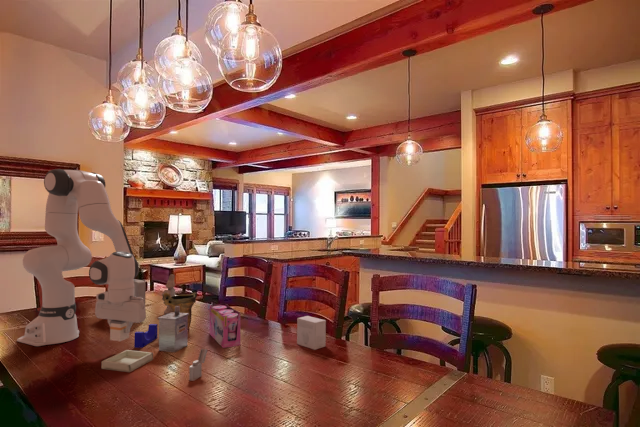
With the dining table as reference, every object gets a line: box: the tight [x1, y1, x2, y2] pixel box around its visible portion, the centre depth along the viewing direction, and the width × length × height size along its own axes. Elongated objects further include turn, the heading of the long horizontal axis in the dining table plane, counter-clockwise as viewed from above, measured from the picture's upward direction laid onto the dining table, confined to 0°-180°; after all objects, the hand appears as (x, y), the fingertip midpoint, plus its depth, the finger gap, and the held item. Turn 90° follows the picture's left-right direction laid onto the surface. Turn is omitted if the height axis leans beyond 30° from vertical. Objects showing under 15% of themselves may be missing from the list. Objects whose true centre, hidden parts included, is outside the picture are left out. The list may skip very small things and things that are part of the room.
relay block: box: [109, 320, 130, 342], centre depth 140 cm, size 5×5×7 cm
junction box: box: [157, 306, 189, 353], centre depth 145 cm, size 8×9×16 cm
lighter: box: [188, 348, 208, 382], centre depth 119 cm, size 7×2×8 cm, turn 162°
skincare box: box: [296, 315, 327, 351], centre depth 149 cm, size 10×6×10 cm, turn 47°
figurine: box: [161, 273, 176, 315], centre depth 200 cm, size 9×8×20 cm
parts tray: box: [101, 349, 154, 373], centre depth 129 cm, size 11×11×2 cm
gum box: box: [208, 303, 241, 349], centre depth 155 cm, size 22×7×13 cm, turn 31°
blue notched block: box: [133, 323, 158, 349], centre depth 151 cm, size 12×4×6 cm, turn 176°
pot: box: [161, 291, 198, 331], centre depth 168 cm, size 17×11×18 cm, turn 143°
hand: (120, 331), depth 141 cm, fingers closed on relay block, 5 cm apart
